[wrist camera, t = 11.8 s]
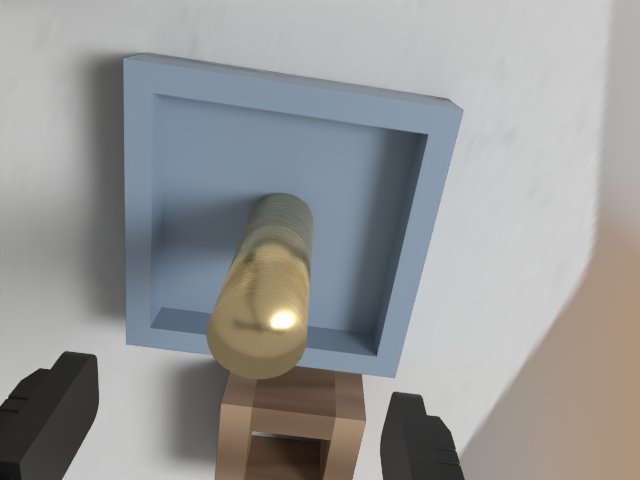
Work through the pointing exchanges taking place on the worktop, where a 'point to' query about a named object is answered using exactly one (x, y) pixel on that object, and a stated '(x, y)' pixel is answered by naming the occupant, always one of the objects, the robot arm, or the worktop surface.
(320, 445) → the bracket
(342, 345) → the tray
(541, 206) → the worktop surface
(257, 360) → the pin
